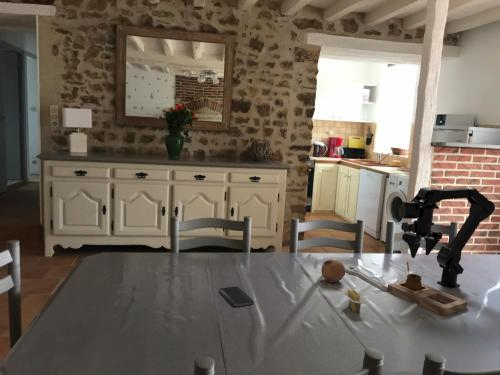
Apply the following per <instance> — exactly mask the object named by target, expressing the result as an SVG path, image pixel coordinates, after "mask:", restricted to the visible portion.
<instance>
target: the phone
mask: <svg viewBox="0 0 500 375" xmlns="http://www.w3.org/2000/svg"><path fill="white" fill-rule="evenodd" d="M219 293H220V294H221V296H223V297H224V298H225V299H226V300H227V302H228V303H229V304H230V305H231V306H232V307H234V308H238V307H246V306H252V305H254V302H255V301H254V300H253V299H252V298H251V297H250V296H249V295H248V294H247V293H246V292H245V291H244V290H242V288H241V287H240V286H227V287H220V288H219Z"/></svg>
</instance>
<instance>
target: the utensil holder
mask: <svg viewBox="0 0 500 375" xmlns="http://www.w3.org/2000/svg"><path fill="white" fill-rule="evenodd" d="M406 267H407V268H406V269H407V271H408V273H407V276H406V279H405V280H406V282H405V288H408V289H410V290H413V291H419V290H421V287H422V284H423V283H422V275H423V272H425V271H424V269H423V267H421V266H420V267H419V266H418V268H417V270H416V273H415V274H414V273H410V266H409V261H406ZM420 269H421V270H422V272H420V273H419V272H418V271H420ZM420 274H421V275H420Z"/></svg>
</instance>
